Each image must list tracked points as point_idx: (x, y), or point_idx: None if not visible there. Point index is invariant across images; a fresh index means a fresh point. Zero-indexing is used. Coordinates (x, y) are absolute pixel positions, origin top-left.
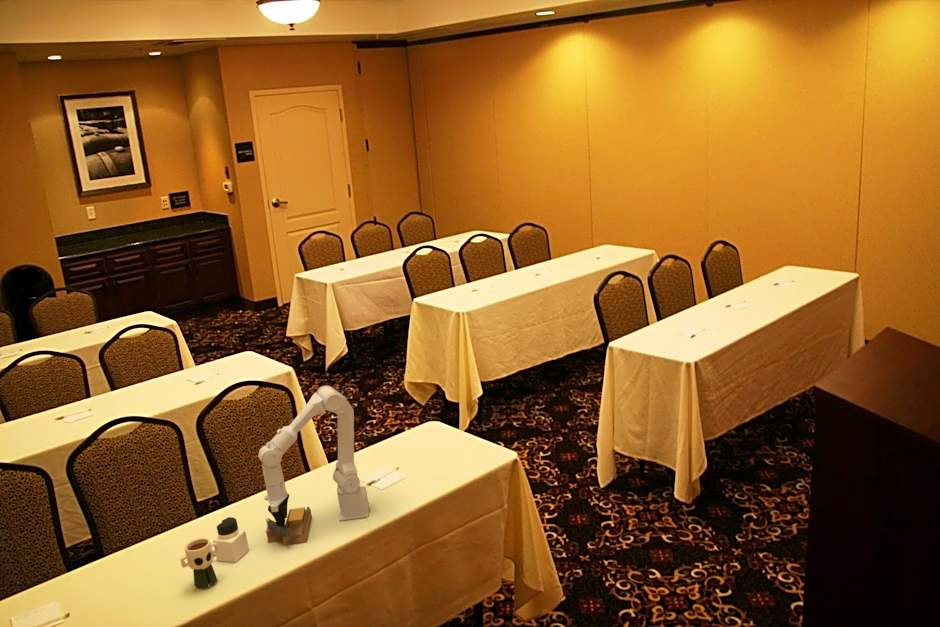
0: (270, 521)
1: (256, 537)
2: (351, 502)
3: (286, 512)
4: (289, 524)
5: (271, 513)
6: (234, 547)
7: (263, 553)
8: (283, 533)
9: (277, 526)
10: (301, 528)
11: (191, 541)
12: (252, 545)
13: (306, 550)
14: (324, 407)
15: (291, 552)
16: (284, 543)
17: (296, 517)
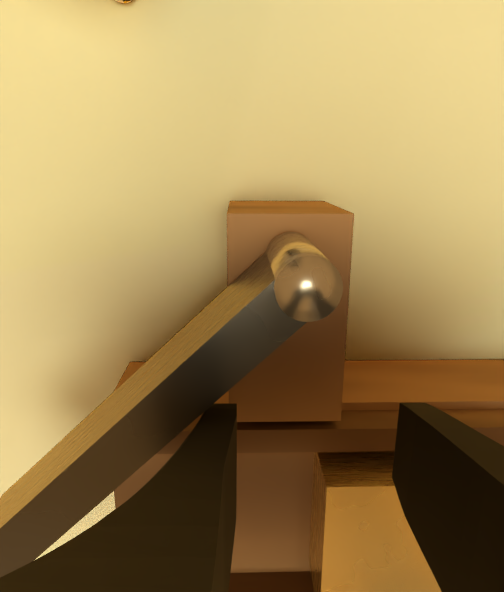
0: (237, 336)
1: (387, 46)
2: None
3: (422, 547)
4: (318, 465)
5: (58, 556)
6: None
7: (34, 183)
8: (30, 475)
9: (83, 447)
10: (236, 558)
11: None
12: (225, 27)
13: None
14: None
15: (6, 434)
16: (126, 377)
17: (385, 562)
